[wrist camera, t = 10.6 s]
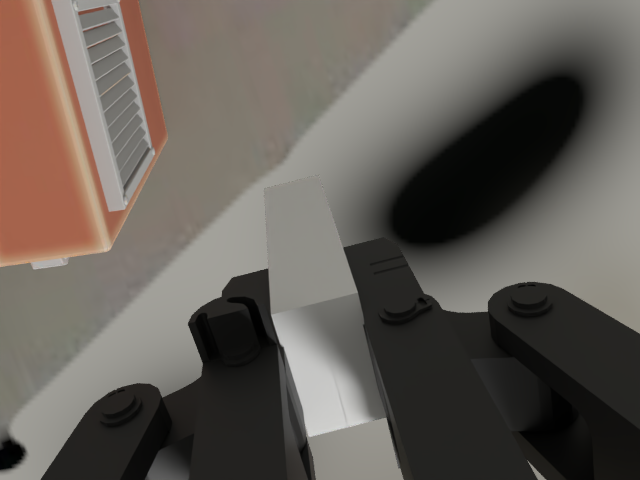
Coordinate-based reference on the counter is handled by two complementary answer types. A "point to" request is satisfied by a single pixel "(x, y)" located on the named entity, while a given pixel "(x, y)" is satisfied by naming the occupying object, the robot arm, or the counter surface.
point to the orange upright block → (73, 126)
